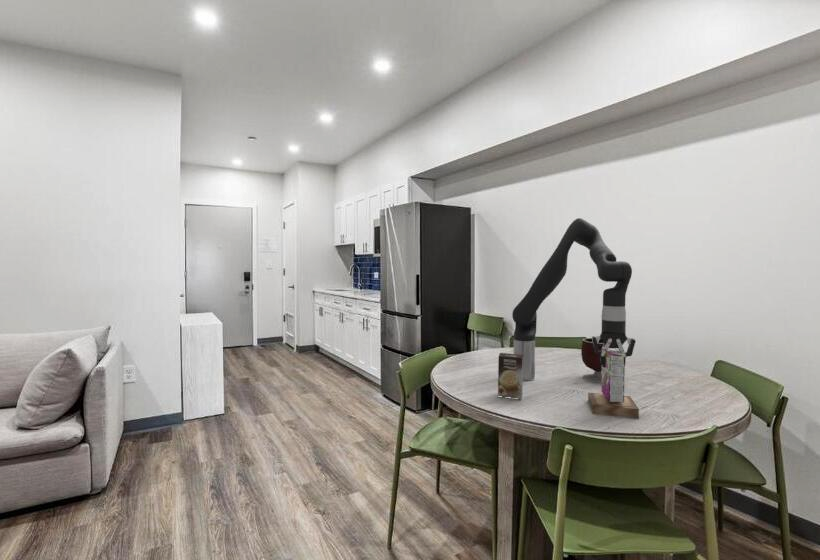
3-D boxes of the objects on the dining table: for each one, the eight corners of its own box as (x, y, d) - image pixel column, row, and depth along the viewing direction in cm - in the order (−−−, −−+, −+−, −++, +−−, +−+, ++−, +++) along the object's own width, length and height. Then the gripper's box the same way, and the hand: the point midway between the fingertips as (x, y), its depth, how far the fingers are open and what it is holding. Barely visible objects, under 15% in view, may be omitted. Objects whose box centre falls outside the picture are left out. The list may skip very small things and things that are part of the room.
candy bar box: (600, 392, 150) (601, 347, 150) (615, 393, 149) (616, 348, 149) (608, 402, 140) (609, 354, 139) (624, 403, 139) (625, 355, 138)
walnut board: (592, 413, 140) (592, 404, 140) (588, 400, 153) (588, 392, 153) (638, 418, 136) (638, 408, 136) (629, 404, 149) (630, 395, 149)
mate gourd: (576, 379, 181) (577, 334, 180) (586, 373, 192) (587, 330, 191) (614, 386, 171) (615, 338, 170) (623, 379, 182) (624, 334, 181)
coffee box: (497, 397, 156) (497, 355, 156) (499, 392, 162) (499, 352, 162) (522, 400, 153) (522, 357, 153) (523, 395, 160) (523, 354, 159)
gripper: (592, 319, 142) (591, 368, 143) (639, 321, 138) (637, 371, 138) (590, 316, 149) (589, 363, 150) (634, 318, 145) (633, 366, 145)
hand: (612, 366), depth 144 cm, fingers closed on candy bar box, 5 cm apart
